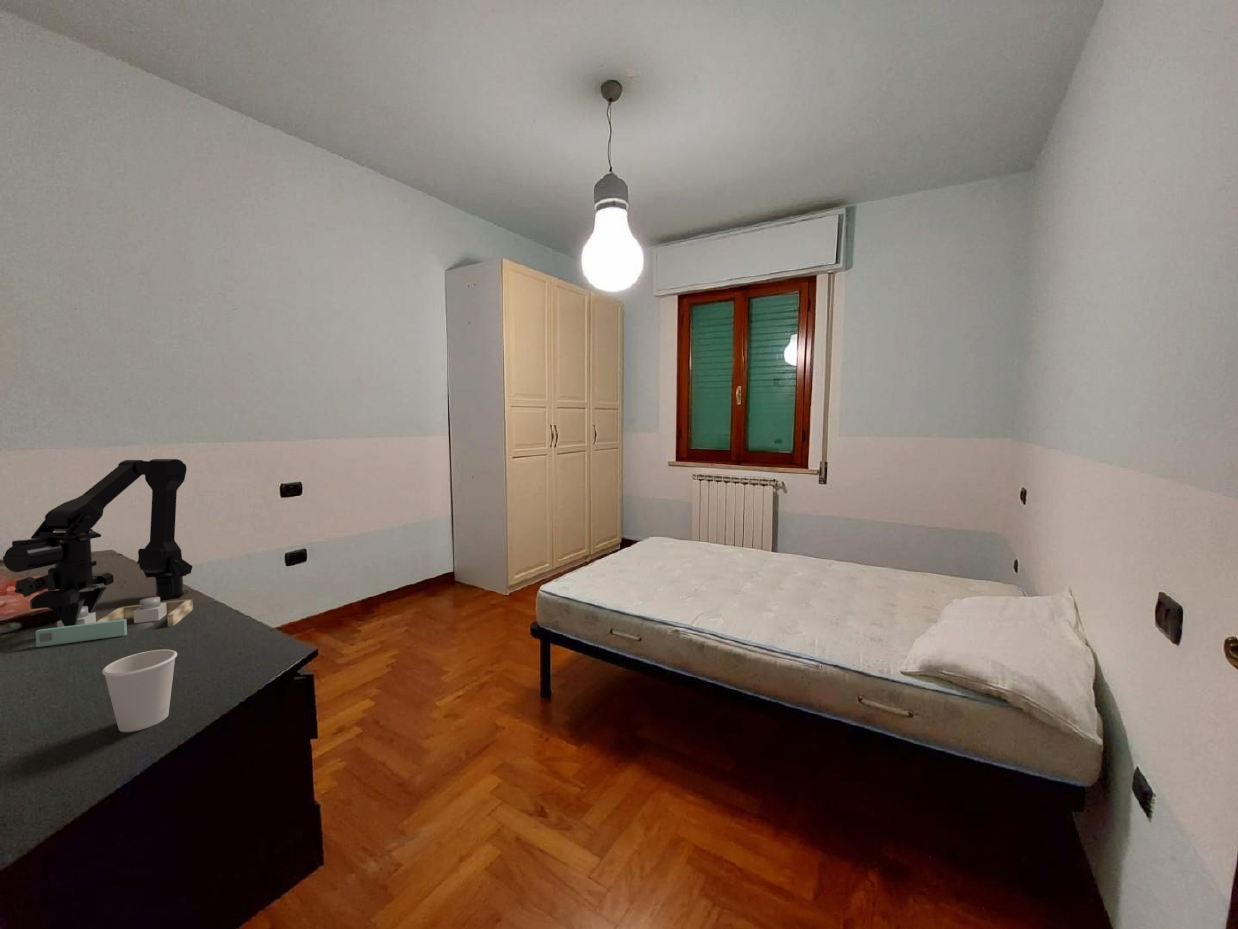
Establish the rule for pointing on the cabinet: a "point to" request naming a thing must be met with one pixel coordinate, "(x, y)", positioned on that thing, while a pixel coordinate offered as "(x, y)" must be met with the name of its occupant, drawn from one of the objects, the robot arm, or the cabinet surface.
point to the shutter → (80, 632)
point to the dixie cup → (141, 688)
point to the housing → (173, 607)
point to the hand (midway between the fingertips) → (77, 624)
